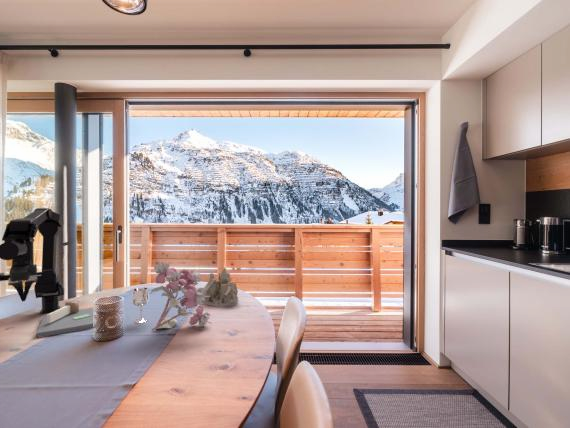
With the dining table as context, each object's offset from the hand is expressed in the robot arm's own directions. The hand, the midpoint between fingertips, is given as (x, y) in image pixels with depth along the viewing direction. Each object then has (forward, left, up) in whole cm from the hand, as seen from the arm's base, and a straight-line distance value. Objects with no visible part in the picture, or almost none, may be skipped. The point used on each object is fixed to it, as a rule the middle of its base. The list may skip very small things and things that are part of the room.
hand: (23, 300), depth 108 cm
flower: (+27, +48, -11) cm, 57 cm away
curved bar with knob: (-4, +11, -9) cm, 15 cm away
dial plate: (-1, +12, -10) cm, 16 cm away
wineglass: (+12, +35, -11) cm, 39 cm away
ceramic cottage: (+5, +69, -11) cm, 70 cm away
